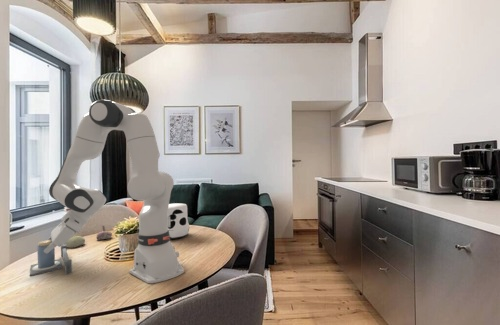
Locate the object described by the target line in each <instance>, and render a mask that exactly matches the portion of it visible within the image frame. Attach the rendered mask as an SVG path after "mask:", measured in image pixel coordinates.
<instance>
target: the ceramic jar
mask: <svg viewBox="0 0 500 325" xmlns="http://www.w3.org/2000/svg"><path fill="white" fill-rule="evenodd" d="M51 243H52V240H48V239H46V240H42V241H38V243H37V244H38V245H37V246H36V248H37V249H36V250H37V264H38V268H48V267H51V266H53V265H55V260H56V258H55V255H56V252H55V248H56V247H55V248H54V249H52V250H51V251H50V252H49V253H45V252H44V249H45V248H46V247H48V246H49V245H50V244H51Z"/></svg>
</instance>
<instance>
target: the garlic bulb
mask: <svg viewBox="0 0 500 325" xmlns="http://www.w3.org/2000/svg"><path fill="white" fill-rule="evenodd" d="M112 237H113V233H112V232H111V231H110V230H109V231H108V230H106V228H105V225H104V224H103V225H102V231H100V232H98V233H97V234H96V240H98V241H101V240H107V239H111V238H112Z"/></svg>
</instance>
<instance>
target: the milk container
mask: <svg viewBox="0 0 500 325" xmlns="http://www.w3.org/2000/svg"><path fill="white" fill-rule="evenodd" d="M168 230H169V234H170V240H175V239H181V238H184V237H186V236H187V235H188V234H189V232H190V224H189V221H188V205H187V204H186V203H177V202H176V203H175V202H174V203H169V206H168Z"/></svg>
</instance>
